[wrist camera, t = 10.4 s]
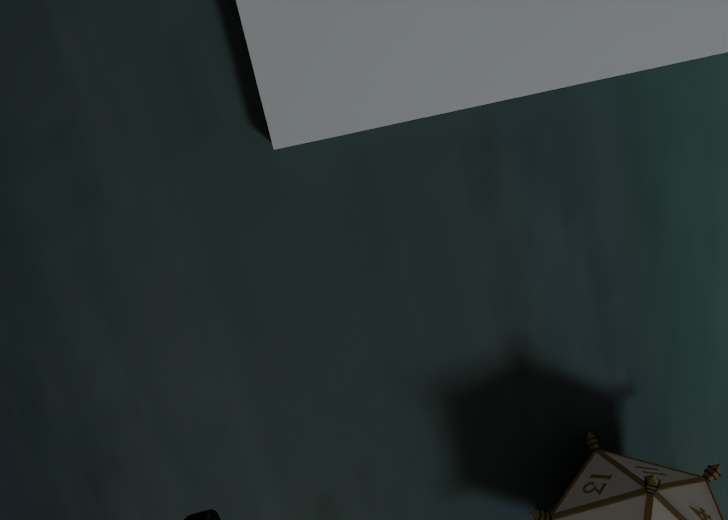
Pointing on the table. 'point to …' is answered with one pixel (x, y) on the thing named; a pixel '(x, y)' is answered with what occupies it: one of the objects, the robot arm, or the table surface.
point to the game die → (634, 491)
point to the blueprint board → (452, 54)
